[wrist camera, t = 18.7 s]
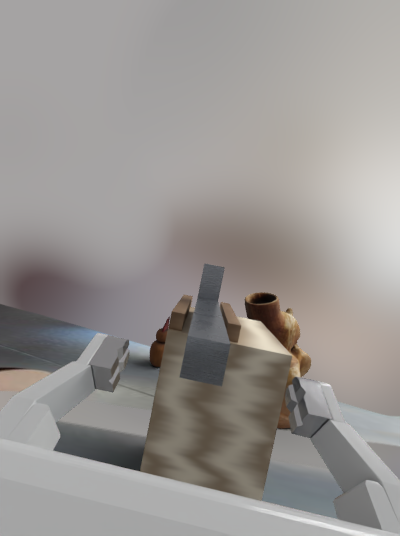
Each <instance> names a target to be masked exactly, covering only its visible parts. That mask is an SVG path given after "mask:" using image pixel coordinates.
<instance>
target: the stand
mask: <svg viewBox="0 0 400 536" xmlns="http://www.w3.org/2000/svg"><path fill="white" fill-rule="evenodd" d="M191 302H192V296H188V295H184V296H183V297H182V298H181V300H180V301H179V302H178V304H177V305H176V307H175V308H174V309H173V311H172V314H171V319H170V324H169V329H168V331H167V336H166V341H165V346H164V352H163V357H162V362H161V367H160V372H159V377H158V382H157V387H156V392H155V397H154V403H153V408H152V413H151V418H150V423H149V428H148V433H147V438H146V443H145V448H144V454H143V459H142V464H141V469H140V472H144V473H148V474H152V475H156V476H160V477H165V478H169V479H173V480H177V481H181V482H185V483H189V484H194V485H198V486H202V487H206V488H210V489H214V490H218V491H223V492H227V493H231V494H235V495H239V496H243V497H247V498H252V499H256V500H260V501H261V500H262V496H263V491H264V486H265V482H266V477H267V472H268V467H269V463H270V458H271V453H272V449H273V444H274V439H275V435H276V430H277V425H278V421H279V416H280V411H281V407H282V402H283V397H284V393H285V388H286V383H287V379H288V374H289V369H290V365H291V360H292V355H291V354H290V353H289V352H288V351H287V349H286V348H285V347H284V346H283V345H282V344H281V343H280V342H279V341H278V340H277V339H276V337H275V336H274V335H273V334H272V333H271V332H270V331H269V330H268V329H267V328H266V327H265V326H264V324H263V323H262V322H261V321H256V320H251V319H246V318H241V317H237V316H236V315H235V313H234V311H233V309H232V308H231V306H230V304H228V303H223V302H221V304H220V310H221V313H222V317H223V320H224V324H225V327H226V330H227V334H228V337H229V341H230V344H231V345H230V350H229V355H228V359H227V364H226V369H225V374H224V379H223V384H222V387H221V386H217V385H212V384H207V383H203V382H198V381H193V380H188V379H184V378H179V377H180V372H181V367H182V362H183V357H184V352H185V347H186V342H187V337H188V333H189V329H190V325H191V321H192V317H193V314H194V310H195V308H192V307H191Z"/></svg>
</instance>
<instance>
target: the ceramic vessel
mask: <svg viewBox="0 0 400 536" xmlns="http://www.w3.org/2000/svg"><path fill="white" fill-rule="evenodd" d="M245 307H246V312H247V317H248V319H251V320H256V321H261V322H262V323H263V324H264V326H265V327H266V328H267V329H268V330H269V331H270V332H271V333H272V334H273V335H274V336H275V337H276V339H277V340H278V341H279V342H280V343H281V344H282V345H283V346H284V347H285V348H286V349H287V351H288V352H289V353H290V354H291V355H292V360H291V365H290V369H289V374H288V379H287V383H286V388H285V393H286V389H287V387H288V386H289V385H292V384H293V383H292V380H293V378H294V377H302V376H304V375H305V374H306V373H307V372H308V370H309V369H310V366H311V358H310V357H309V356H308V354H307V353H305V352H304V351H302V350H301V349H300V348H299V347H298V345H297V344H296V343H297V340H298V339H299V337H300V329H299V325H298V324H297V321H296V319H295V318H294V317H293V312H292V309H291V308H288V309H287V310H286V312H283V311H280V306H279V300H278V297H277V296H276V295H274V294H271V293H253V294H250V295H248V296H247V297H246V298H245ZM285 393H284V397H283V402H282V407H281V411H280V416H279V421H278V425H277V428H290V423H289V418H288V417H289V415H290V413H291V412H290V411H289V410H288V408H287V407H286V402H285Z"/></svg>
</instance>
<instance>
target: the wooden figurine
mask: <svg viewBox="0 0 400 536" xmlns="http://www.w3.org/2000/svg"><path fill="white" fill-rule="evenodd" d="M169 318H170V317H169ZM169 318H168V319H167V321H166V323H165V325H164V327H163V328H162V329H159V330H158V331H157V334H156V339H157V340H156V341H154V342H153V344H152V345H151V348H150V362H151V364H152V365H153V366H156V367H161V362H162V357H163V352H164V346H165V341H166V336H167V331H168V326H169Z"/></svg>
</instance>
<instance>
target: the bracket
mask: <svg viewBox="0 0 400 536" xmlns="http://www.w3.org/2000/svg"><path fill="white" fill-rule="evenodd" d="M223 273H224V267H219V266H214V265H209V264H204V269H203V274H202V279H201V284H200V289H199V294H198V299H197V302H196V306H195V310H194V314H193V317H192V321H191V325H190V329H189V333H188V337H187V342H186V347H185V352H184V357H183V362H182V367H181V372H180V377H179V378H184V379H188V380H193V381H198V382H203V383H207V384H212V385H217V386H221V387H222V384H223V379H224V374H225V369H226V364H227V359H228V355H229V350H230V345H231V344H230V341H229V337H228V334H227V330H226V327H225V324H224V320H223V317H222V313H221V310H220V306H219V303H218V298H219V292H220V288H221V283H222V278H223Z"/></svg>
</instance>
